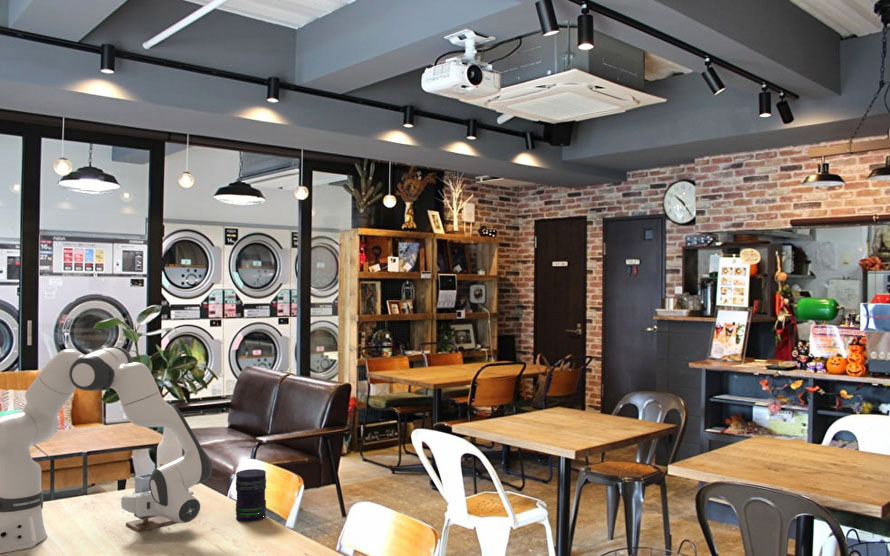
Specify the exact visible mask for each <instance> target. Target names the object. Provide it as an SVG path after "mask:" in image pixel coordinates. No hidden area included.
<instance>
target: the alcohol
mask: <svg viewBox="0 0 890 556" xmlns="http://www.w3.org/2000/svg"><path fill="white" fill-rule="evenodd" d="M182 456H183V448H182V446H181V444H180V442H179V441H178V439H177V437H176V436H175V434H174V432H173V431H172V430H171V429H169V428H167V427H163V431H162V438H161V440H160V441H159V443H158V445H157V449H156V468H158V467H160V463H162V462H168V461H174V460H176V459H178V458H180V457H182Z"/></svg>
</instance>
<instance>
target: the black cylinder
mask: <svg viewBox="0 0 890 556" xmlns="http://www.w3.org/2000/svg"><path fill="white" fill-rule="evenodd" d="M266 474H267V471H266V470H264V469H256V468H253V469H252V468H251V469H244V470H238V471H237V472H236V473H235V477H236V478H235V491H236V501H235V502H236V503H235V515H236V517H235V520H236V521H237V522H239V523H241V522H242V523H254V522H253V521H256V522H259V521H260V522H261V521H262V520H264V519H266V517H267V514H266V512H267V501H266V489H267V485H266V484H267V475H266ZM258 513H259V514H258ZM263 516H264V517H263Z"/></svg>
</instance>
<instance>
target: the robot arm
mask: <svg viewBox="0 0 890 556" xmlns="http://www.w3.org/2000/svg"><path fill="white" fill-rule="evenodd" d="M132 358H133V357H132V356H131V354H130V352H129V351H128V350H127V349H125V348H123V347H120V346H108V347H104V348H100V349H96V350H94V351H91V352H90V353H89V352H88V353H87V354H83V353H82V352H80V351H79V350H76V349H74V348H73V349H72V348H66V349H63V350H60V351H59V352H58V353H56V355H54V356H53V357H52V358H51V359H50V360H49V361H48V363H46V365H44V367H43V368H42V370H41V371H40V372H39V374H37V376H36V377H35V379H34V380H33V381H32V382H31V384H30V385H29V387H28V388H27V389H26V391H25V393H24V397H25V400H26V404H25V406H24V407H23V408H22V409H21V410H19V411H17V412H14V413H13V412H12V413H10V414H5V415H1V416H0V554H5V553H8V552H15V551H19V550H25V549H26V550H27V549H31V548H34V547H36V546H37V544H39V543H41V542H42V541H44V540H46V539H47V537H48V534H47V531H46V527H45V523H44V517H43V509H44V507H43V506H44V493H43V490H42V466H41V464H40V463H39V462H37V461H35V460H34V459H33V458H32V457H33V456H32V455H31V452H30V447H33V446H36V445H39V444H42V443H45V442H46V441H47V440H49V439H51V438H53V436H55V435H56V434H57V433H58V430H59V427H60V426H59V425H60V421H59V414H60V412H61V410H62V408H63V407H64V406H65V404H66V403H67V401H68V400H69V399H70V397H71V395H73V394H74V393H75V390H76V389H79V390H80V391H81V390H82V391H87V392H88V391H89V392H90V391H91V392H92V391H94V392H95V391H108V390H109V389H113V390H114V391H115V392H116V393H117V397H118V398H119V401H120V404H121V407H122V409H123V412H124V414H125V416H126V418H127V420H128V421H129V422H130V423H131V424H133V425H135V426H137V427H140V428H141V427H142V428H160V427H162V428H164V427H167V428H169V429H171V430H172V431H173V432H174V434H175V436H176V437H177V439H178V441H179V442H180V444H181V446H182V450H183V451H184V454H183V455H182V457H180V458H178V459H176V460H174V461H172V462H169V463H167V464H165V465H162V466H160V467H158V468H157V467H156V468H155V469H153V471H152V472H151V473H152V474H151V477H150V481H149V488H150V490H149V491H145V492H135V491H134V492H132V493H131V494H126V495H123V496H121V498H120V499H121V500H120V505H121V509H123V510H124V511H126V512H128V513H131V514H134V513H136V516H138V517H144V516H163V517H166V518H168V519H169V520H172V521H174V522H176V523H179V524H186V523H190V522H192V521H193V520H194V519H196V517H197V516H198V515H199V513H200V511H201V503H200V501H199V499H198V498H196V497H195V496H194V491H193V490H189V489H190V488H192V487H194V486H195V485H196V486H197V485H200V484H201V483H204V482H207V481H208V480H209V478H210V477H211V475H212V471H213V468H214V467H213V466H214V465H213V461H212V460H211V458H210V457H209V455H208V453H207V452H206V451H205V450H204V449H203V446H201V444H200V442H199V440H198V439H197V437H196V436H195V433H194V432H193V430H192V428H191V427H190V424H189V423H188V422H187V420H186V418H185V416H184V415H183V413H182V412H181V410H180V409H179V408H178V407H177V406H176V405H175V404H169V403H168V402H167V401H166V400H165V399H164V398H163V396H162V394H161V392H160V389H159V387H158V384H157V382H156V380H155V378H154V376H153V374H152V373H151V371H150V369H149V368H148V367H147V365H146V364H144V363H143V362H139V361H138V362H135V361H134V362H133V359H132Z"/></svg>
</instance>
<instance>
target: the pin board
mask: <svg viewBox="0 0 890 556" xmlns="http://www.w3.org/2000/svg"><path fill="white" fill-rule="evenodd" d="M176 523H177V522H174V521H172V520H169V519H168V518H166V517H163V516H156V517H152V518H148V519H144V520H141V519H139V518H138V519H136V520H131V521H127V522H126V521H125V526H126V527H127V528H130V529H132V530H134V531H135V532H138V533H140V532H143V531H147V530H152V529H157V528H160V527H164V526H168V525H171V524H172V525H173V524H176Z"/></svg>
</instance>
